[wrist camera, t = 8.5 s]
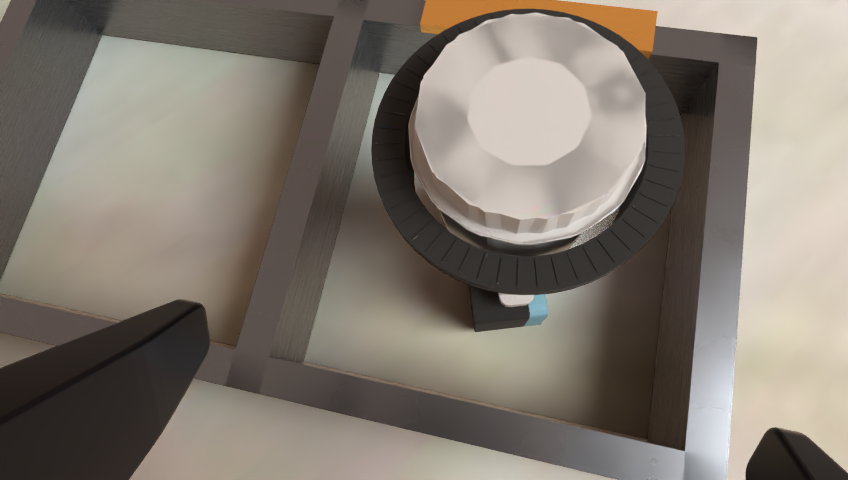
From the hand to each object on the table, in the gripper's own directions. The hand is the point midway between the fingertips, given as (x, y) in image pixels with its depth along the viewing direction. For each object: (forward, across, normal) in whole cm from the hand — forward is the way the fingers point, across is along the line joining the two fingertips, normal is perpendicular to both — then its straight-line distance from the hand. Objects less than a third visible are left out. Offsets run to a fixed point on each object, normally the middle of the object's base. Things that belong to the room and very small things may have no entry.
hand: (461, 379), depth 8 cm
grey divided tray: (+10, +6, +2) cm, 12 cm away
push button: (+10, 0, +3) cm, 10 cm away
